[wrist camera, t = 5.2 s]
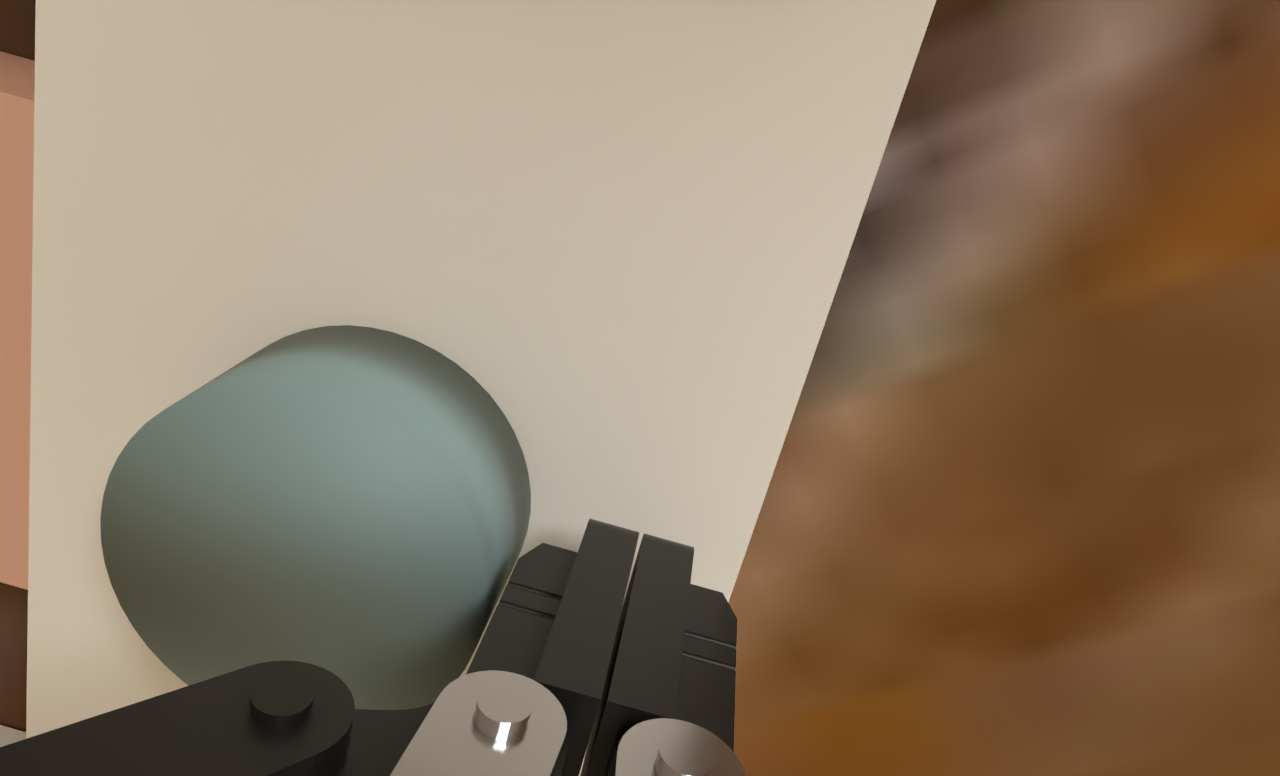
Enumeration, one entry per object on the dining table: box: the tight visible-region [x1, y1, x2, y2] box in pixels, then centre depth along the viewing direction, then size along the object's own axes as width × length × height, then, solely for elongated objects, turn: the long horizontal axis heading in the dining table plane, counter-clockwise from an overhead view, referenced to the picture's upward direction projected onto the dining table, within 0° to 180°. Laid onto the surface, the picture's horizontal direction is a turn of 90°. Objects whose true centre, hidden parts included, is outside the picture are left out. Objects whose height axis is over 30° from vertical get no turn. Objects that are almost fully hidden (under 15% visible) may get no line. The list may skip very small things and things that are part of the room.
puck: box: [100, 325, 531, 710], centre depth 13 cm, size 5×5×2 cm
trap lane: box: [0, 0, 936, 776], centre depth 14 cm, size 22×20×5 cm
